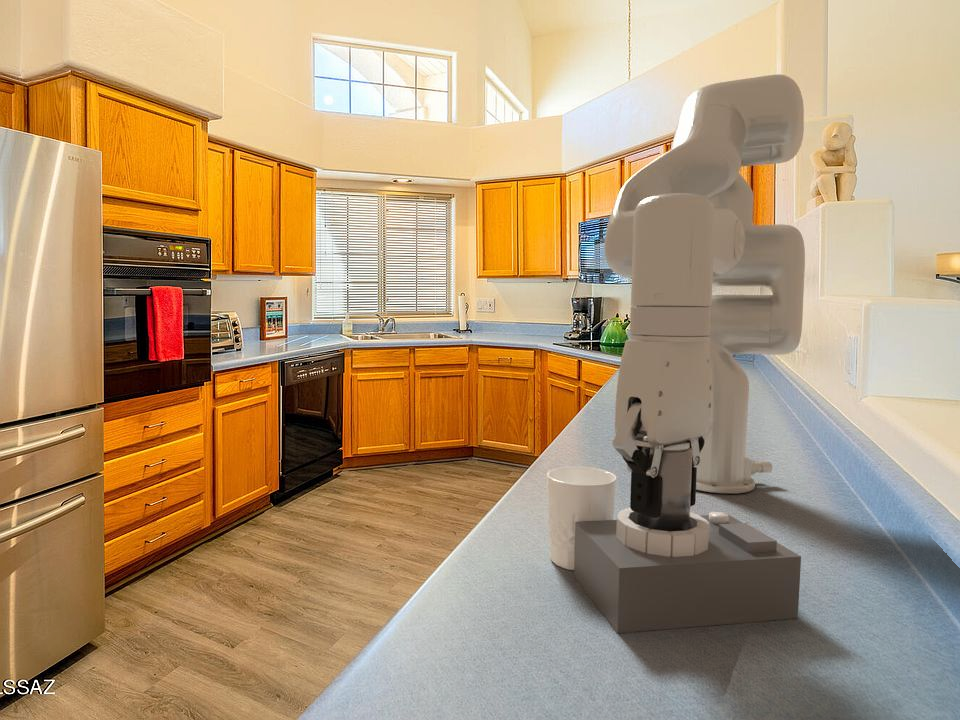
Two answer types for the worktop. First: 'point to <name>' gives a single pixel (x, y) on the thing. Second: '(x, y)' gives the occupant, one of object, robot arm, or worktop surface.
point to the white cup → (576, 506)
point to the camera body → (685, 573)
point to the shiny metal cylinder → (672, 489)
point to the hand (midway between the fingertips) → (663, 506)
